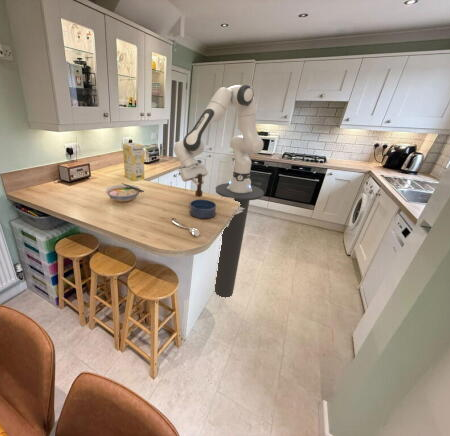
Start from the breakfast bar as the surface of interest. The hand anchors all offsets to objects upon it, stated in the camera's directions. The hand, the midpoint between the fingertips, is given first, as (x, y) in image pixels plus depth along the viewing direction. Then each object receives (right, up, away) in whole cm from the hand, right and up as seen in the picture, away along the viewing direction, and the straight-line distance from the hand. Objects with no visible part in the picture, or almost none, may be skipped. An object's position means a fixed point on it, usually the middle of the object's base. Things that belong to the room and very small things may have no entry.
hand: (200, 184), depth 142 cm
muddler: (0, -7, +4) cm, 8 cm away
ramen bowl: (-49, -9, +15) cm, 52 cm away
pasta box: (-48, +15, +63) cm, 81 cm away
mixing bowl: (0, -18, -4) cm, 19 cm away
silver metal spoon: (-12, -27, -21) cm, 36 cm away
